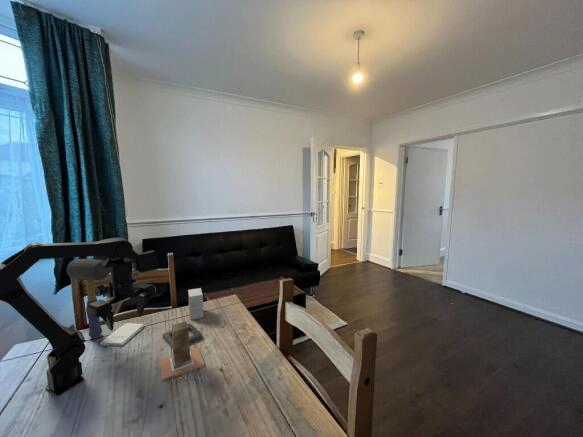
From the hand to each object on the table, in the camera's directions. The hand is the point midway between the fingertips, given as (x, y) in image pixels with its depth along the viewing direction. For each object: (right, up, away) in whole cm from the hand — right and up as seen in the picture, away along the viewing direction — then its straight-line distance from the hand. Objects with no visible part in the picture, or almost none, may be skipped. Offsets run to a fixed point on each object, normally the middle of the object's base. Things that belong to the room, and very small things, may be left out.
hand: (126, 322), depth 81 cm
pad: (+19, -13, -1) cm, 23 cm away
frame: (+13, -11, +12) cm, 21 cm away
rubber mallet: (-19, -10, +12) cm, 25 cm away
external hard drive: (-10, -11, +13) cm, 20 cm away
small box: (+12, -9, +29) cm, 32 cm away
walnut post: (+19, -12, -1) cm, 22 cm away
